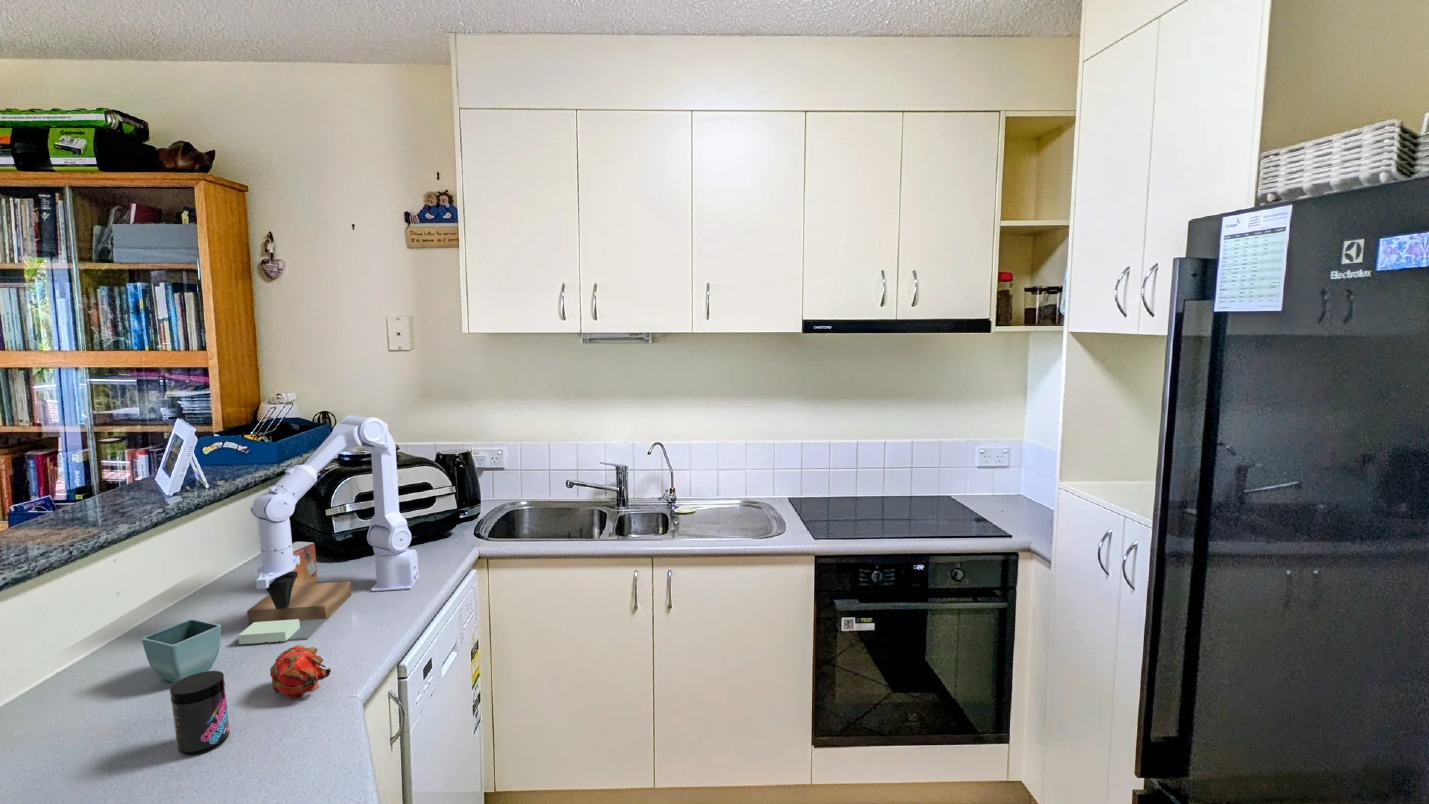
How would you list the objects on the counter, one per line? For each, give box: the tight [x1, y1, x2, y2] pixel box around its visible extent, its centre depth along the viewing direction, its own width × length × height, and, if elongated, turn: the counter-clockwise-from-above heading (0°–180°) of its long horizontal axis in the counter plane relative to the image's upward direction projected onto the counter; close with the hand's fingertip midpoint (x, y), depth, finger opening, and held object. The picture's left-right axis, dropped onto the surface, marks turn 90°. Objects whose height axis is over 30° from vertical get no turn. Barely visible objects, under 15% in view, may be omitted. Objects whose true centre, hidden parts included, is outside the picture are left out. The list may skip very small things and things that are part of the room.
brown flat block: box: [246, 580, 352, 627], centre depth 154 cm, size 16×14×4 cm
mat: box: [234, 619, 327, 646], centre depth 143 cm, size 14×9×1 cm, turn 98°
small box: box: [291, 541, 319, 585], centre depth 167 cm, size 8×6×10 cm
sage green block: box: [238, 619, 300, 645], centre depth 140 cm, size 9×6×2 cm, turn 98°
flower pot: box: [141, 618, 222, 684], centre depth 125 cm, size 9×9×9 cm
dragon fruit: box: [269, 644, 332, 700], centre depth 119 cm, size 8×8×12 cm
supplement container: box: [169, 670, 231, 756], centre depth 104 cm, size 7×7×10 cm
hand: (282, 607), depth 145 cm, fingers closed
